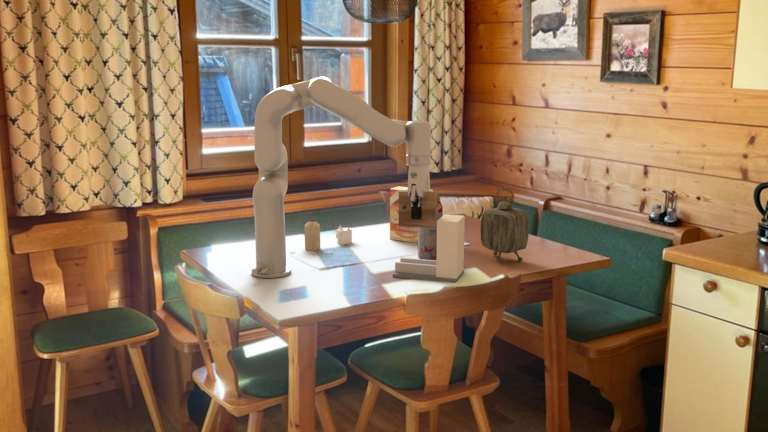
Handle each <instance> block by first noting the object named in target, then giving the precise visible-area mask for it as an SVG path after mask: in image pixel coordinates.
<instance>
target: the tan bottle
mask: <svg viewBox="0 0 768 432" xmlns="http://www.w3.org/2000/svg"><path fill="white" fill-rule="evenodd" d="M304 248H305V250H307V251H317V250H318V251H319V250H320V249H321V224H319V223H318V222H317V221H309V220H308V221H307V222H306V224H304Z"/></svg>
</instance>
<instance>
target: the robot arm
mask: <svg viewBox="0 0 768 432" xmlns="http://www.w3.org/2000/svg"><path fill="white" fill-rule="evenodd" d="M316 106H317V107H319V108H321V109H323V110H324V111H325V112H328V113H331V114H332V115H334V116H336V117H338V118H340V119H341V120H343V121H344V122H346V123H348V124H350V126H353V128H354V127H355V128H356V129H358V130H360V131H362V132H363V133H365V134H366V135H367V136H370V137H372V138H374V139H375V140H376V141H379V142H381V143H383V144H384V145H386V146H389V147H392V148H393V147H399V146H401V145H402V144H403V143H406V158H405V159H406V161H405V162H406V163H405V164H406V166H407V167H408V171H407V173H408V174H407V175H408V176H407V177H408V178H407V187H408V196H409V197H411V199H410V200H411V219H419V220H420V219H421V207H420V205H421V198H423V197H425V193H427V192H430V190H431V179H430V175H431V174H430V166H431V146H432V145H431V139H432V137H431V131H432V129H431V126H432V125H431V123H430V122H429V121H427V120H419V119H418V120H401V119H391V118H389V116H386V115H384V114H383V113H381V112H379V111H378V110H376V109H374V108H373V107H372V106H370V105H369V103H367V101H365V100H364V99H362V98H361V97H360V96H358V95H356V94H354V93H352V92H350V91H348V90H347V89H344V88H343V87H341V86H340V85H338V84H336V83H334V82H333V81H332V80H331V79H330V78H329V77H326V76H319V77H315V78H312V79H309V80H305V81H301V82H296V83H292V84H288V85H283V86H281V87H277V88H275V89H274V90H271V91H270V92H269V93H267V94H266V95H264V96H263V97H262V98H261V100H260V101H259V103H258V104H257V106H256V110H255V112H254V113H255V114H254V153H253V154H254V155H253V156H254V157H253V160H254V162H255V163H254V164H255V166H256V168H258V180H257V181H256V182H255V184H254V186H253V190H252V204H253V205H252V206H253V211H254V212H253V213H254V235H255V236H254V237H255V262H256V263H255V265H256V266H255V267H254V268H252V269H251V275H253V276H254V277H257V278H263V279H277V278H283V277H286V276H289V275H290V274H291V273H292V269H291V267H289V266H288V265H287V253H286V247H287V244H286V220H285V219H286V218H285V217H286V216H285V204H284V203H285V202H284V199H285V198H284V197H285V196H286V194H287V191H288V187H289V184H288V182H289V181H288V179H289V177H288V176H289V174H288V173H289V170H288V169H289V168H288V165H289V164H288V161H289V159H288V151H287V147H286V146H285V144H284V143H283V126H282V125H283V124H282V123H283V119H284V117H285V116H287V115H289V114H292V113H294V112H296V111H301V110H303V109H305V110H306V109H308V108H312V107H316ZM416 195H418V196H419V197H416ZM416 199H418V200H416Z"/></svg>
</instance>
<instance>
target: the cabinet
mask: <svg viewBox="0 0 768 432" xmlns="http://www.w3.org/2000/svg"><path fill="white" fill-rule="evenodd" d="M465 219H466V216H465V215H458V214H457V215H456V214H447V213H445V214H443V216H442V217H441V218H440V219H439V220H437V257H436V260H425V259H419V258H410V257H409V258H408V257H400V259H399V260H400V261H396V262H394V272H393V273H392V278H400V279H412V280H421V281H422V280H423V281H433V282H442V283H443V282H444V283H454V284H455V283H457V282H458V281H459V280H460V278H461V277H462V276H463V274H464V273H465V268H464V267H465V228H466V227H465Z"/></svg>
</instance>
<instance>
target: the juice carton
mask: <svg viewBox="0 0 768 432" xmlns="http://www.w3.org/2000/svg"><path fill="white" fill-rule="evenodd" d="M443 208H444V207H443V205H442V201H441V195H438V220H439V219H440V218H441V217H442V216H444V214H443ZM417 257H418V258H417V259H425V260H436V257H437V227H436V228H425V227H418V243H417Z"/></svg>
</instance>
